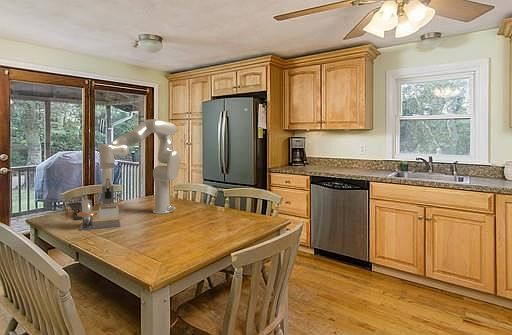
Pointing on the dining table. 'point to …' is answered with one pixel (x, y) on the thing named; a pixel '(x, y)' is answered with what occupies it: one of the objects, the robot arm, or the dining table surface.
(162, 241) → the dining table surface
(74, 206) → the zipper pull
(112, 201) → the grey block
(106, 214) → the grey boxy fixture
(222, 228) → the dining table surface
